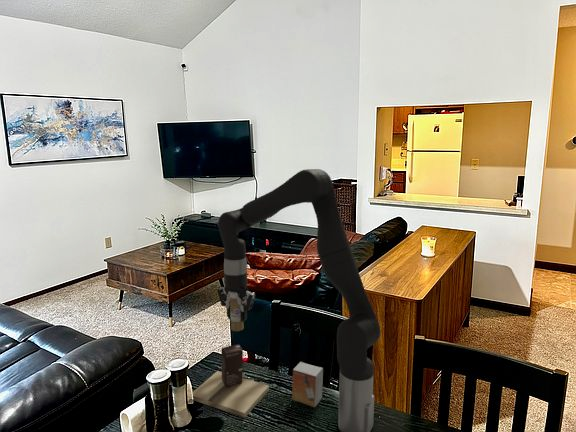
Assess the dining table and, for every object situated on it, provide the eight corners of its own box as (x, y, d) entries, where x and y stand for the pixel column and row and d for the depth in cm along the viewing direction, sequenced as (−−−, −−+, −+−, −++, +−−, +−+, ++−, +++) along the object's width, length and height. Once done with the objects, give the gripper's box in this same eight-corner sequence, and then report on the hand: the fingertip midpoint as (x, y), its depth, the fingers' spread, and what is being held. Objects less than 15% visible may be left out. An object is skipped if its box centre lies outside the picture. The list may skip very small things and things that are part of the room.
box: (225, 388, 134) (225, 353, 132) (221, 380, 138) (220, 347, 135) (243, 383, 137) (243, 349, 134) (238, 376, 141) (238, 343, 138)
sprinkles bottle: (232, 332, 138) (231, 294, 136) (228, 327, 143) (227, 289, 140) (245, 330, 140) (245, 292, 138) (241, 324, 144) (240, 287, 142)
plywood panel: (269, 389, 136) (269, 385, 135) (245, 417, 122) (244, 412, 122) (217, 374, 144) (217, 370, 144) (189, 399, 131) (189, 394, 131)
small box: (291, 400, 131) (292, 369, 129) (299, 390, 135) (300, 360, 133) (315, 408, 127) (315, 376, 125) (322, 398, 132) (323, 367, 130)
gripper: (260, 270, 138) (261, 319, 141) (223, 264, 144) (225, 311, 147) (248, 277, 131) (249, 328, 134) (210, 271, 137) (212, 320, 140)
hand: (236, 319), depth 141 cm, fingers closed on sprinkles bottle, 4 cm apart
